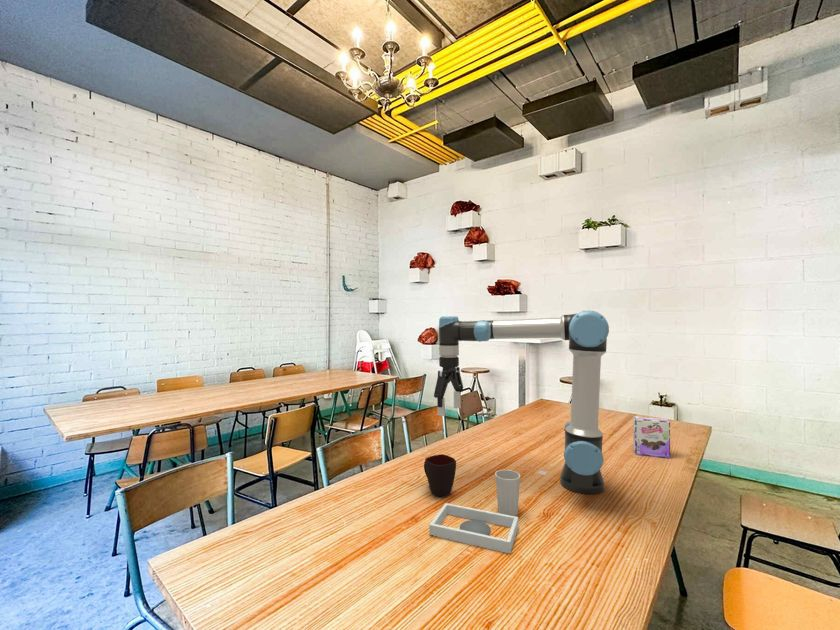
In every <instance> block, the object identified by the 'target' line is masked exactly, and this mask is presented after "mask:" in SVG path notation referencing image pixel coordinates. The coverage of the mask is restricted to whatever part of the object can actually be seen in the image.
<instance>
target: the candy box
mask: <svg viewBox="0 0 840 630" xmlns="http://www.w3.org/2000/svg"><path fill="white" fill-rule="evenodd" d="M632 439H633V444H632V445H633V446H632V447H633V448H632V449H633V452H634V455H637V456H643V457H644V456H647V457H655V458H660V459H661V458H663V459H671V421H670V420H669V419H668V418H661V417H649V416H647V417H646V416H637V415H633V437H632Z"/></svg>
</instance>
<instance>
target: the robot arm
mask: <svg viewBox="0 0 840 630" xmlns="http://www.w3.org/2000/svg"><path fill="white" fill-rule="evenodd" d="M609 333H610V326H609V323H608V320H607V319H606V317H605V316H604V315H602V314H601V313H600V312H598V311H594V310H589V309H588V310H581V311H579V312H577V313H572V314H570V313H569V314H562V315H561V316H560V317H545V318H544V317H543V318H522V319H520V318H519V319H518V318H516V319H496V320H495V319H493V320H491V319H490V320H473V321H472V320H469V321H465V320H464V321H462V320H459V317H458V316H456V315H451V316H450V315H449V316H448V315H447V316H446V315H445V316H440V317H439V319H438V344H439V347H438V350H439V351H438V352H439V353H438V355H439V356H440V357H439V359H438V363H439V364H438V365H439V367H440V368H442V369H441V370H438V371H437V379H436V383H435V384H436V385H435V388H434V392H433V393H434V394H433V397H434V398H435V399H437V401H436V404H437V406H436V407H437V414H436V415H437V416H438V417H439V416H440V417H445V416H446V398H445V397H444V396H445V394H446V391H447V388H448V384H450V382H451V385H452V387H453V390H454V391H453V409H461V408H462V405H461V403H462V402H461V399H462V398H461V393H462V392H463V391H464V385H463V380H462V376H461V369H460V367H459V365H460V360H459V359H460V358H459V355H460V351H459V350H460V348H459V347H460V345H459V342H480V343H481V342H488V341H489V340H500V339H503V340H505V339H511V340H512V339H562V341H563V340H564V341H568V351H570V352H571V353H572V357H573V359H572V376H571V377H572V380H571V400H570V401H571V403H570V404H571V405H570V407H571V408H570V421H567V422H566V423H565V424H564V451H563V458H564V464H563V467H562V471H561V472H560V475H559V479H560V481H559V482H560V485H561V486H562V487H563V488H565V489H566V490H569V491H572V492H575V493H579V494H584V495H596V494H600V493H602V492H604V490H605V481H604V477H603V475H602V471H601V469H602V466H603V463H604V456H603V435H604V434H603V432H602V430H600V429H599V412H600V411H599V409H600V389H601V387H600V386H601V385H600V384H601V364H602V362H601V361H602V356H603V355H605V354H606V353H607V344H608V343H607V341H608V339H607V338H608V337H609Z"/></svg>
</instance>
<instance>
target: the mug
mask: <svg viewBox="0 0 840 630" xmlns="http://www.w3.org/2000/svg"><path fill="white" fill-rule="evenodd" d="M423 470H424V473H425V476H426V478H427V483H428V486H429V487H428V488H429V490H430V492H431V495H433V496H434V497H437V498H439V499H440V498H445V497H448V496H449V495H450V494H451V492H452V490H453V487H454V483H455V477H456V470H457V460H456V459H455V458H454V457H452V456H450V455H447V454H434V455H430V456H428V457H426V458H425V459H424V462H423Z"/></svg>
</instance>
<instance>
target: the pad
mask: <svg viewBox="0 0 840 630" xmlns="http://www.w3.org/2000/svg"><path fill="white" fill-rule="evenodd" d="M459 529H460V530H465V531H470V532H474V533H479V534H483V535H488V536H491V533H492V532H491V530H492V529H491V527H490V525H489V523H487V522H482V521H478V520H472V519H469V520H465V521H463V522H462V523H461V524H460V526H459Z"/></svg>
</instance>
